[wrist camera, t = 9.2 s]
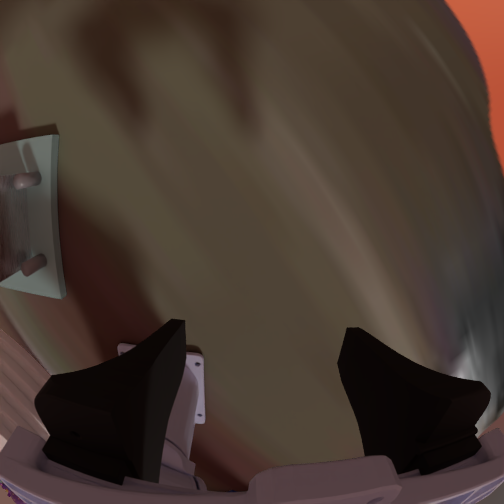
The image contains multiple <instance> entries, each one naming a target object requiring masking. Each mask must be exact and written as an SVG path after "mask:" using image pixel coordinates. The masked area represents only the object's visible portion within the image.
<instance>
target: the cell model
mask: <svg viewBox="0 0 504 504" xmlns="http://www.w3.org/2000/svg"><path fill="white" fill-rule="evenodd" d="M0 485H1V486H2V488H3V489H5V490H6V491H7V492H8V496H9V497H10V496H11V497H12V499H13V501H14V502H15V503H16V504H27V503H25V502H23V501H22V500H21V499H20V498H19V497H18V496H17V495H16V494H15V493H14V492H12V491H11V490H10V489H9V488H8V487H7V486H6V485H5V484H4V483H3V482H2V481H1V480H0Z"/></svg>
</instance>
